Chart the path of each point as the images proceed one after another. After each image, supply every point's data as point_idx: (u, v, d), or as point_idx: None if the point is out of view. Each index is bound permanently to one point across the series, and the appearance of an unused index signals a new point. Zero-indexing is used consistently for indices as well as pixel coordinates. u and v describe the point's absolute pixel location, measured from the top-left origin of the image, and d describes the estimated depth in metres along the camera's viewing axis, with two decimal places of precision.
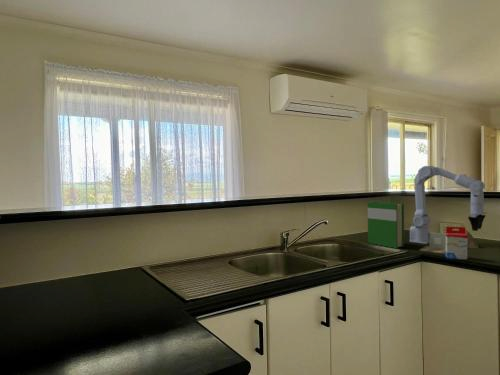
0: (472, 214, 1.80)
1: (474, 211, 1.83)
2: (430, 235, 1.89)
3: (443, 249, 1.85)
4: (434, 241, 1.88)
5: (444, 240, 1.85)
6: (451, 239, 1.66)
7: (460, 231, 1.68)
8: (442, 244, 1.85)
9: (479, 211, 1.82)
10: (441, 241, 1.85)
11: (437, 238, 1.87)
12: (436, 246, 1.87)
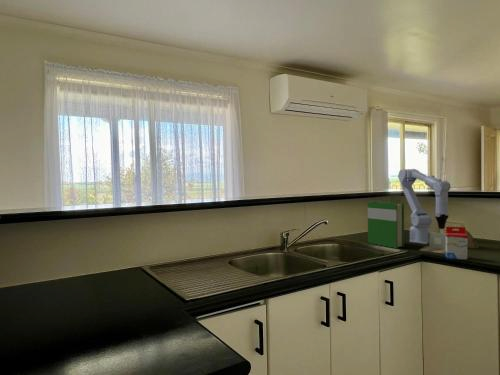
0: (436, 214, 1.86)
1: (439, 211, 1.89)
2: (430, 235, 1.89)
3: (443, 249, 1.85)
4: (434, 241, 1.88)
5: (444, 240, 1.85)
6: (451, 239, 1.66)
7: (460, 231, 1.68)
8: (442, 244, 1.85)
9: (443, 211, 1.88)
10: (441, 241, 1.85)
11: (437, 238, 1.87)
12: (436, 246, 1.87)
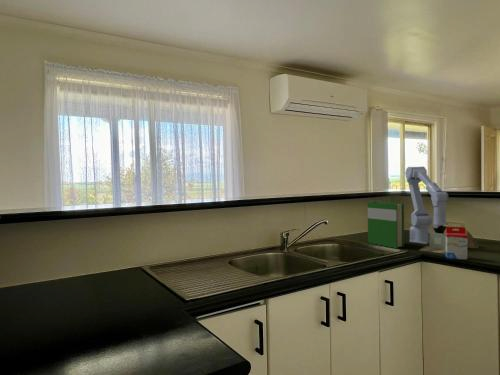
0: (434, 225, 1.84)
1: (436, 222, 1.87)
2: (430, 235, 1.89)
3: (443, 249, 1.85)
4: (434, 241, 1.88)
5: (444, 240, 1.85)
6: (451, 239, 1.66)
7: (460, 231, 1.68)
8: (442, 244, 1.85)
9: (441, 222, 1.86)
10: (441, 241, 1.85)
11: (437, 238, 1.87)
12: (436, 246, 1.87)
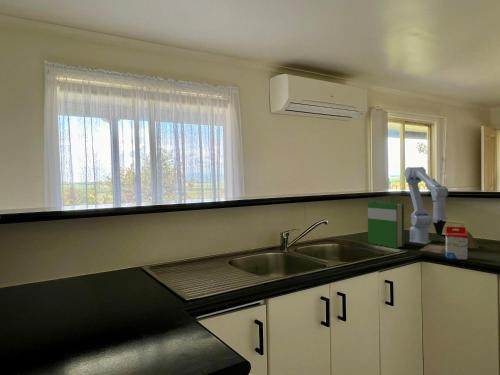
0: (433, 219, 1.84)
1: (436, 216, 1.87)
2: None
3: None
4: None
5: None
6: (451, 239, 1.66)
7: (460, 231, 1.68)
8: None
9: (441, 216, 1.85)
10: None
11: None
12: None
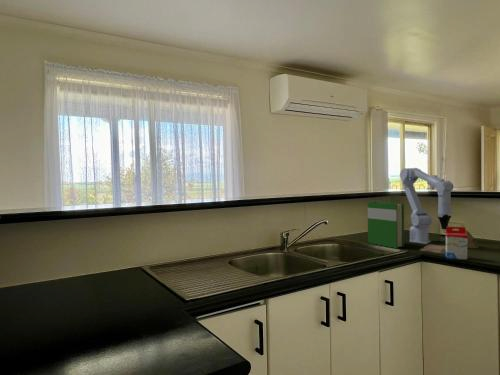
0: (439, 214, 1.85)
1: (441, 211, 1.88)
2: None
3: None
4: None
5: None
6: (451, 239, 1.66)
7: (460, 231, 1.68)
8: None
9: (446, 211, 1.87)
10: None
11: None
12: None
